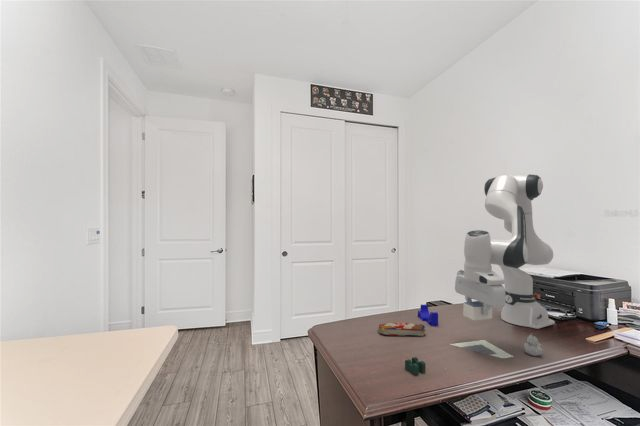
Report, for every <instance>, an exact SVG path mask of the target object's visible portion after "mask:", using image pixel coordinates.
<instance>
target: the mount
mask: <svg viewBox="0 0 640 426" xmlns="http://www.w3.org/2000/svg"><path fill="white" fill-rule="evenodd" d="M404 369H405V370H406V371H408V372H409V373H411V374H413V375H414V376H415V377H416V376H419V375H420V373H421V374H425V373H426V362H425V361H424V360H420V361H419V359H418V357H416V356H414V357H412V358H411V359H409V358H408V359H406V360H404Z"/></svg>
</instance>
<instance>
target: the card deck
mask: <svg viewBox="0 0 640 426" xmlns="http://www.w3.org/2000/svg"><path fill="white" fill-rule="evenodd" d="M462 304H463V313H462V314H463V316H464V317H466V318H467V319H470V320H471V321H484V320H491V319H493V307H492V306H491V308H490V309H489V311H488V316H484V315H482V314H481V310H482V309H484V307H485V306H483V303H482V302H479V301H477V300H475V301H472V302H467V301H464V302H463V303H462Z"/></svg>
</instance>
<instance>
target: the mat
mask: <svg viewBox="0 0 640 426" xmlns="http://www.w3.org/2000/svg"><path fill="white" fill-rule="evenodd" d="M449 345H451V346H453V347H454V346H455V347H457V348H460V349H461V348H462V349H464V350H465V349H466V350H469V351H472V352H476V353H479V354H484V355H487V356H491V357H492V356H493V357H495V358H500V359H507V358H514V355H511V354H510V353H508V352H506V351H504V350H503V349H501V348H499V347H498V346H496V345H494V344H492V343H490V342H489V341H487V340H485V339H482V340H481V339H480V340H472V341H471V340H470V341H465V342H463V341H462V342H458V343H449Z"/></svg>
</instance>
